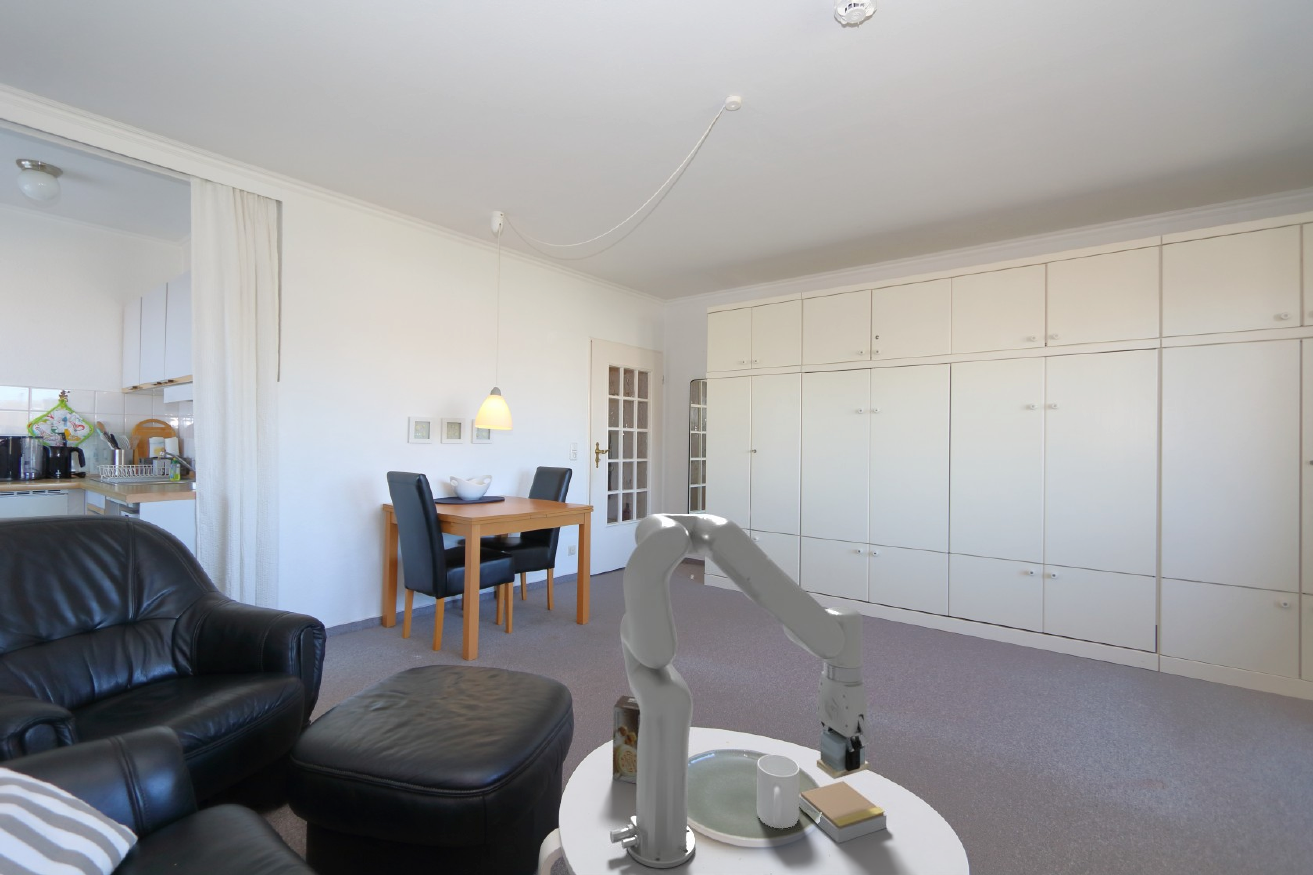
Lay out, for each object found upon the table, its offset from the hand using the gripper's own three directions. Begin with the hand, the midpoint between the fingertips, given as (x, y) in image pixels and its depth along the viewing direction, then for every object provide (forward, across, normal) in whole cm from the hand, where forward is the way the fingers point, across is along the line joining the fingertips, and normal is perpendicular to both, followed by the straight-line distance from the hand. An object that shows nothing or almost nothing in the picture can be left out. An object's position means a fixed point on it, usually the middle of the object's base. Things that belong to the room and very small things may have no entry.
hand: (842, 760), depth 115 cm
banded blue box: (+1, 0, 0) cm, 1 cm away
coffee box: (+11, -29, -33) cm, 45 cm away
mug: (+11, -3, -13) cm, 18 cm away
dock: (+11, 0, 0) cm, 11 cm away
